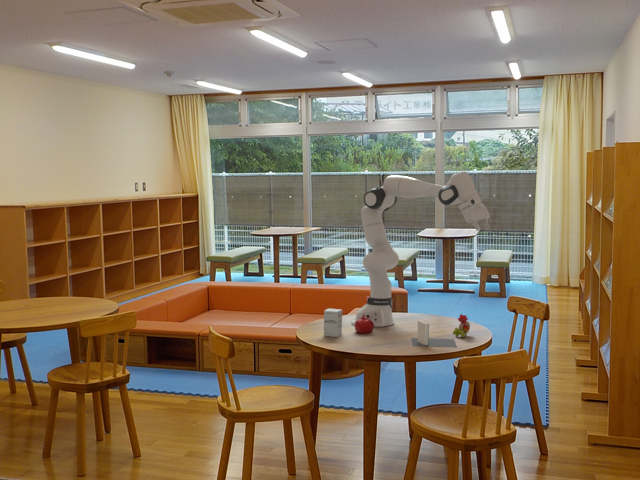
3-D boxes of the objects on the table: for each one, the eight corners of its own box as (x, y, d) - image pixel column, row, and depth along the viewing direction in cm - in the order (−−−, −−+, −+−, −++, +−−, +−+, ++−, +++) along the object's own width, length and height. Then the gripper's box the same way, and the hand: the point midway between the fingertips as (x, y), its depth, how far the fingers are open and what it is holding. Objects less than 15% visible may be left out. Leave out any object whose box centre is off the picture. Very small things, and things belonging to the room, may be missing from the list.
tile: (424, 345, 302) (425, 323, 301) (417, 341, 309) (417, 320, 308) (428, 344, 303) (428, 323, 302) (421, 341, 309) (421, 320, 308)
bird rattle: (459, 338, 327) (449, 333, 321) (465, 317, 329) (455, 312, 323) (470, 341, 322) (459, 336, 316) (476, 319, 324) (466, 314, 318)
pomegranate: (357, 335, 324) (357, 317, 323) (351, 330, 334) (351, 312, 333) (376, 334, 327) (376, 315, 326) (370, 329, 337) (370, 311, 336)
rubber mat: (412, 347, 300) (412, 346, 300) (411, 339, 316) (411, 337, 316) (457, 348, 298) (457, 347, 298) (453, 340, 314) (453, 339, 314)
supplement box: (323, 336, 322) (323, 310, 321) (328, 333, 329) (328, 307, 328) (337, 337, 319) (337, 311, 318) (342, 334, 326) (342, 309, 325)
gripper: (475, 204, 326) (486, 229, 324) (456, 207, 310) (468, 234, 308) (486, 198, 322) (497, 224, 320) (468, 201, 306) (479, 229, 304)
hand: (483, 229), depth 314 cm, fingers open, 8 cm apart
